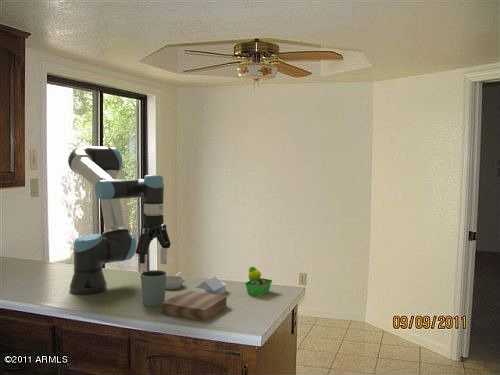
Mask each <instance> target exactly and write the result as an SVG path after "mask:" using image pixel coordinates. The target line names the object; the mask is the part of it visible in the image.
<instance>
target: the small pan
mask: <svg viewBox="0 0 500 375" xmlns="http://www.w3.org/2000/svg"><path fill="white" fill-rule="evenodd" d="M180 274H182V271H179V272H177V273H176V274H175V275H166V287H165V290H175V289H180V288H181V287H182V285H183V283H184V277H182V276H180Z"/></svg>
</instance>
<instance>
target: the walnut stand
mask: <svg viewBox="0 0 500 375" xmlns="http://www.w3.org/2000/svg"><path fill="white" fill-rule="evenodd" d="M227 298H228V296H226V295H223V294H221V295H215V294H209V293H205V292H200V291H195V290H189V289H187V290H185V291H182V292H180V293H179V294H177V295H175V296H172V297H170V298H168V299H165V301H164V302H162V305H161V314H164V315H169V316H175V317H180V318H186V319H192V320H198V321H204V322H205V321H206V320H208V319H209V318H211V317H212V316H214V315H215V314H217V313H218V312H220V311H221V310H224V308H226V307H227Z"/></svg>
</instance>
